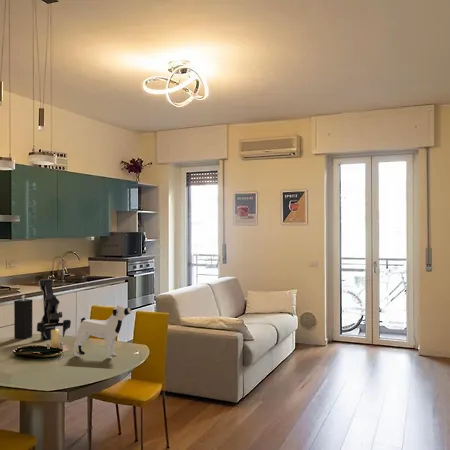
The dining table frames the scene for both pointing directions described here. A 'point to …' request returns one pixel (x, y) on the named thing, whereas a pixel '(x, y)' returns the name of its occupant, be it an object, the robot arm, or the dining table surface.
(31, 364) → the dining table surface
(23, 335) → the black square column
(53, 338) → the post
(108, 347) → the decorative sculpture
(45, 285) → the robot arm
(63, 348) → the board
